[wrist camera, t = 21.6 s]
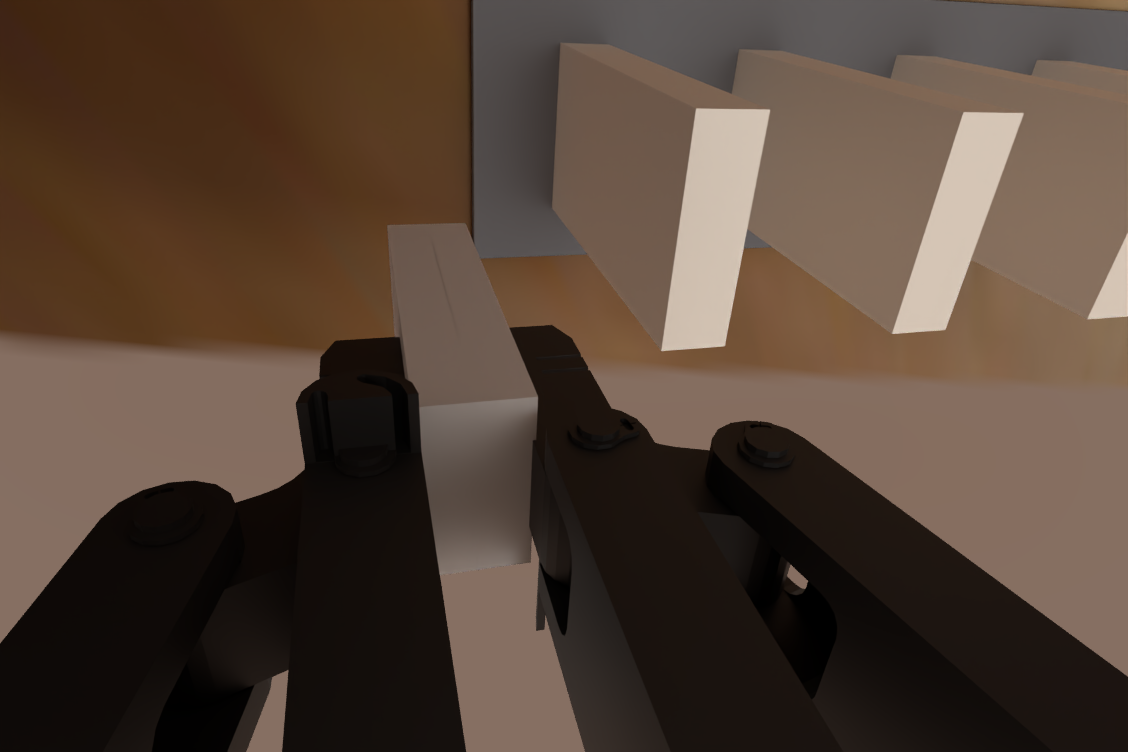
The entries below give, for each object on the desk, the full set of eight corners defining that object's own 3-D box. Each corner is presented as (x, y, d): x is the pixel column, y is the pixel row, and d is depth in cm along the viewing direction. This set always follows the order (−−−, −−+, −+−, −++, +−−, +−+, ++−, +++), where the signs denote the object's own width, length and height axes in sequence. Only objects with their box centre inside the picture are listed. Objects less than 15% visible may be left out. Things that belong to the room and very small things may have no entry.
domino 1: (551, 208, 29) (661, 350, 19) (560, 42, 26) (695, 108, 16) (595, 207, 29) (724, 346, 19) (608, 44, 26) (770, 109, 16)
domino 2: (713, 204, 30) (892, 333, 20) (738, 48, 27) (963, 112, 17) (752, 203, 31) (945, 330, 21) (781, 50, 28) (1023, 113, 18)
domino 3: (857, 201, 32) (1087, 319, 22) (896, 54, 29) (1183, 115, 19) (892, 200, 33) (1132, 315, 23) (934, 56, 30) (1233, 115, 20)
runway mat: (472, 254, 29) (474, 258, 29) (470, -28, 24) (472, -27, 24) (1180, 227, 39) (1190, 231, 38) (1286, 20, 34) (1298, 21, 33)
